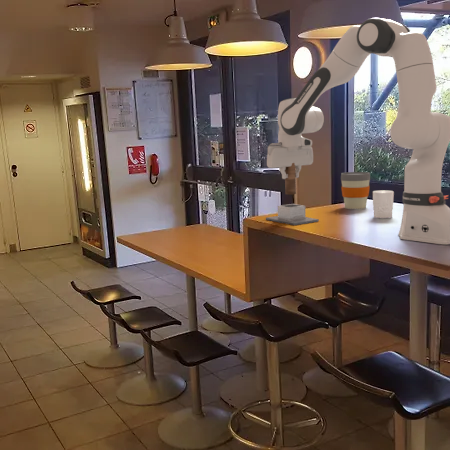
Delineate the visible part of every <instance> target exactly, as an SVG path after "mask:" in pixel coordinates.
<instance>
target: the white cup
mask: <svg viewBox="0 0 450 450" xmlns="http://www.w3.org/2000/svg"><path fill="white" fill-rule="evenodd" d="M394 195H395V192H394V191H393V190H387V189H386V190H383V189H382V190H380V189H379V190H373V191H372V206H373V208H372V209H373V217H374V218H376V219H390V218H392V217H393V210H394Z"/></svg>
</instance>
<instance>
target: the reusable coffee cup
mask: <svg viewBox="0 0 450 450" xmlns="http://www.w3.org/2000/svg"><path fill="white" fill-rule="evenodd" d="M370 180H371V174H370V172H368V171H349V172H341V175H340V181H341V186H340V187H341V188H340V189H341V196H342V197H343V204H344V209H348V210H365V209H366V208H367V202H368V197H369V195H370Z"/></svg>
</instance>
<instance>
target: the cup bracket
mask: <svg viewBox="0 0 450 450" xmlns="http://www.w3.org/2000/svg"><path fill="white" fill-rule="evenodd" d="M265 220H266V221H269V222H275V223H280V224H284V223H285V224H284V225H289V224H290V226H299V225H300V226H301V225H305V224H312V223H318V221H319V219H318V218H313V217H309V216H308V217H307V216H306V205H303V204H302V205H301V204H296V203H291V204H290V203H289V204H282V205H277V215H275V216H269V217H265Z"/></svg>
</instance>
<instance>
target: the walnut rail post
mask: <svg viewBox="0 0 450 450" xmlns="http://www.w3.org/2000/svg"><path fill="white" fill-rule="evenodd" d="M285 173H286V174H288V179H284V182H285V183H284V185H285V188H284V190H285V191H284V192H285V193H284V194H285V195H289V196H290V195H296V194H297V191H296V190H297V188H296V185H297V184H296V182H297V181H296V180H297V178H296V168H295V163H292V166H290V167H286V170H285Z"/></svg>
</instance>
